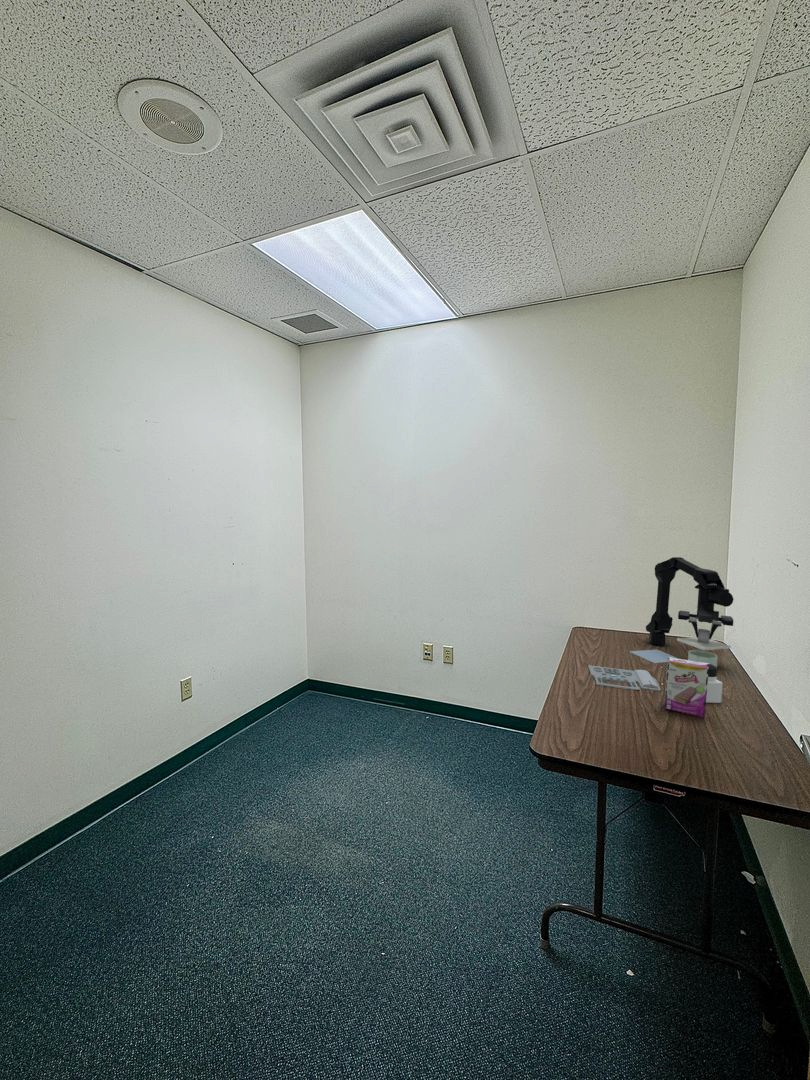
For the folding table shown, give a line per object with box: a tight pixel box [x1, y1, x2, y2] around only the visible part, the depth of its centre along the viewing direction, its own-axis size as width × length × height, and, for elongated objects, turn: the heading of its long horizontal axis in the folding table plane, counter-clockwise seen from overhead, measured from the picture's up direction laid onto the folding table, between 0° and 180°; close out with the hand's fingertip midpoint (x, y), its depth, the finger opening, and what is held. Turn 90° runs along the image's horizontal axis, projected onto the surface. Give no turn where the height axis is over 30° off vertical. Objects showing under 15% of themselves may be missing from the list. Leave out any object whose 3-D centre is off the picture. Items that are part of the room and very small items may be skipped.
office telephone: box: [588, 664, 661, 692], centre depth 170 cm, size 23×3×20 cm
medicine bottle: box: [706, 663, 724, 704], centre depth 153 cm, size 7×7×12 cm
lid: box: [676, 628, 732, 651], centre depth 185 cm, size 13×13×6 cm
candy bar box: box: [664, 657, 709, 719], centre depth 143 cm, size 11×5×16 cm, turn 59°
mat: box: [628, 649, 680, 664], centre depth 196 cm, size 15×15×1 cm
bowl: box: [687, 649, 719, 669], centre depth 185 cm, size 10×10×5 cm
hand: (703, 638), depth 185 cm, fingers closed on lid, 4 cm apart
